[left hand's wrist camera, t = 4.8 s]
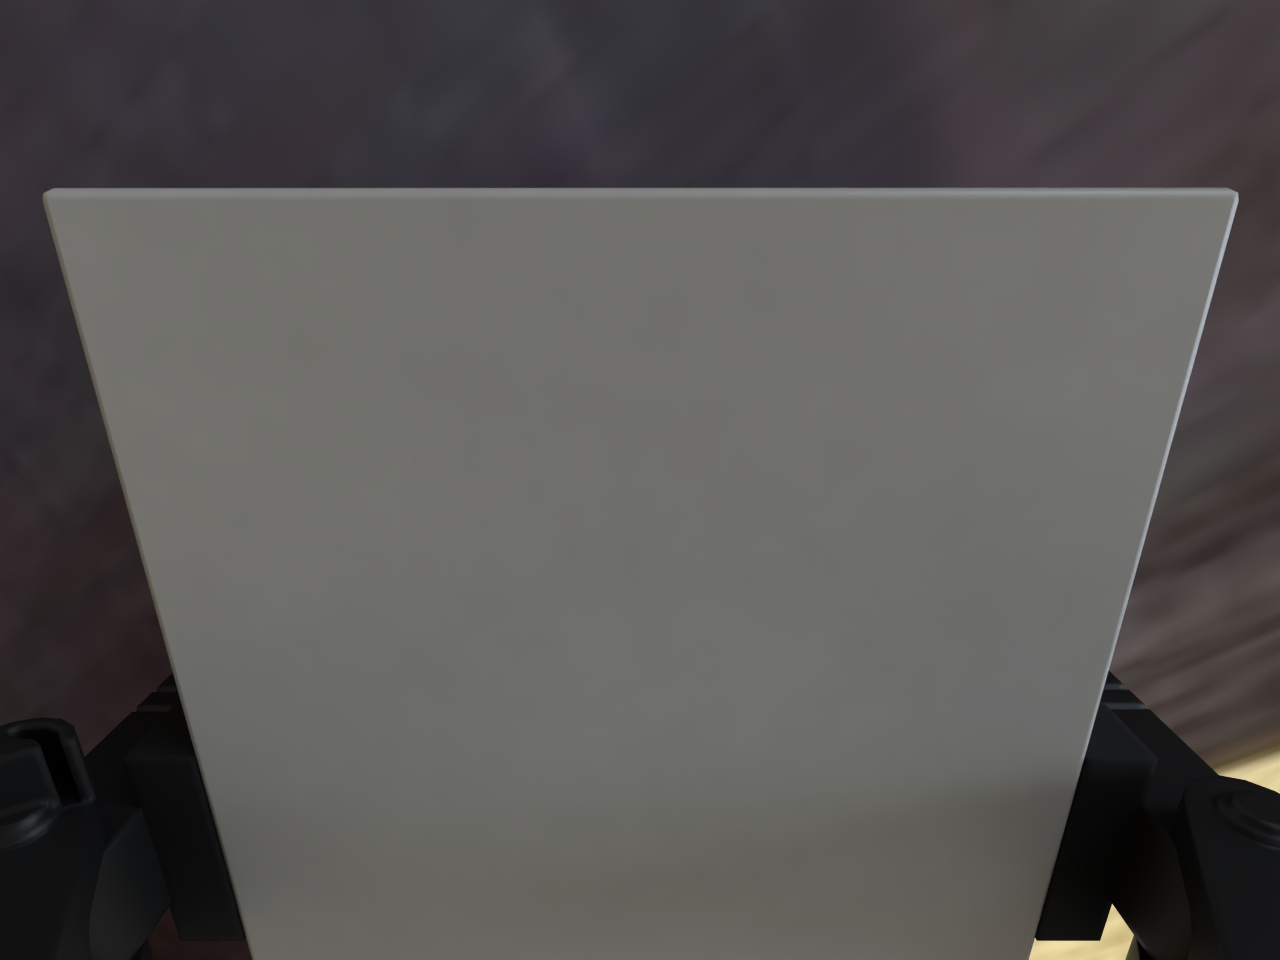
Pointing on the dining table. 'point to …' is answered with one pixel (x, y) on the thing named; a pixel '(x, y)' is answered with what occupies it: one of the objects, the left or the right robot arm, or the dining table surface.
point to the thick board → (640, 546)
